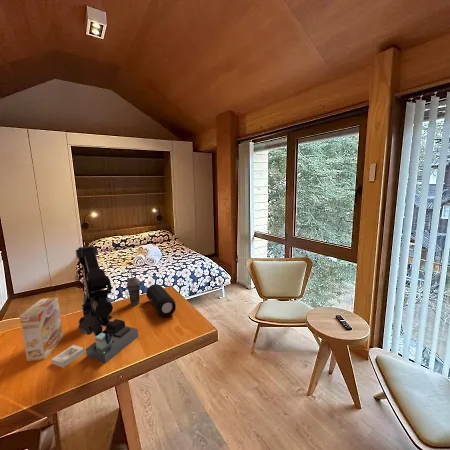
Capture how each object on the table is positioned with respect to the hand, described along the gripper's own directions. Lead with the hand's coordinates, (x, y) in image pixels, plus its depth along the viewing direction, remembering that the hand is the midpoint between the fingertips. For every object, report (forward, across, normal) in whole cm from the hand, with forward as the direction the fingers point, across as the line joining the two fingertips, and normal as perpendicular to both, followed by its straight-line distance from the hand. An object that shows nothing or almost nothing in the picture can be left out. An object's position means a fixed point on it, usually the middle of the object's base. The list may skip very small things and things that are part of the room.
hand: (104, 342), depth 100 cm
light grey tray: (+5, -11, -8) cm, 14 cm away
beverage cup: (+5, -19, +38) cm, 43 cm away
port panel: (+5, 0, +4) cm, 7 cm away
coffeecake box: (+5, -26, -6) cm, 27 cm away
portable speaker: (+5, -2, +40) cm, 40 cm away
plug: (+4, 0, 0) cm, 5 cm away
